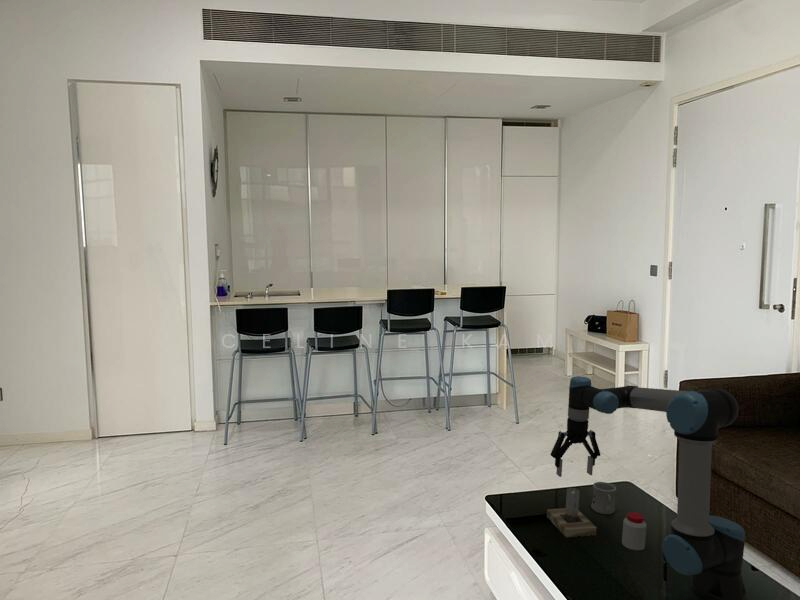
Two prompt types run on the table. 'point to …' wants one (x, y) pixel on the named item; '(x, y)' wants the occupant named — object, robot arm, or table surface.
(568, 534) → the jig
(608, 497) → the mug
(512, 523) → the table surface
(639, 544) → the pill bottle
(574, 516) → the grey cylindrical peg
